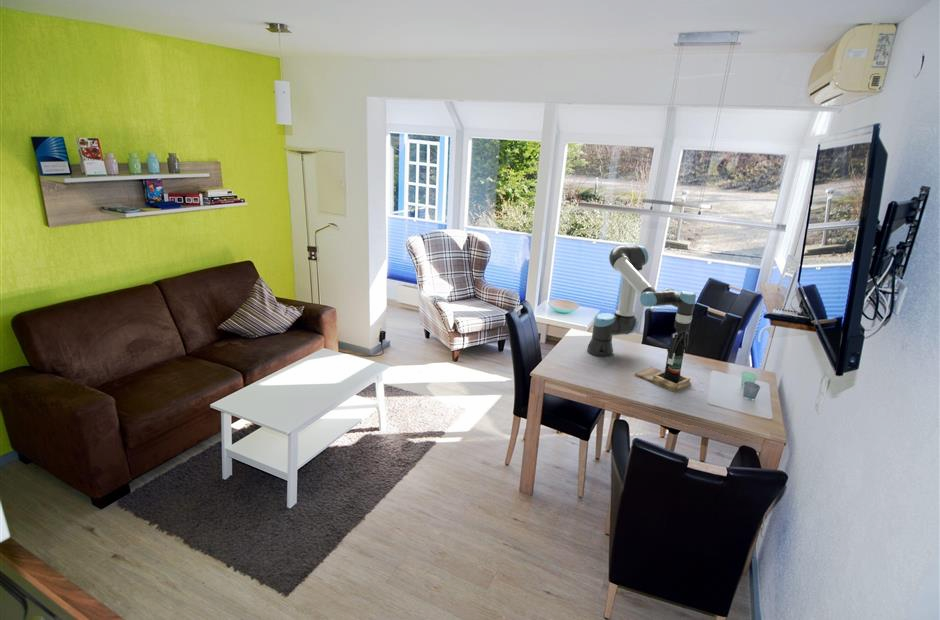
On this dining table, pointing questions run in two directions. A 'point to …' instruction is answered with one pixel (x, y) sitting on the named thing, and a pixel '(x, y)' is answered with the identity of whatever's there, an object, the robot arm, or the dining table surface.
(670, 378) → the wine bottle
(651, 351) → the dining table surface
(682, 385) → the board
